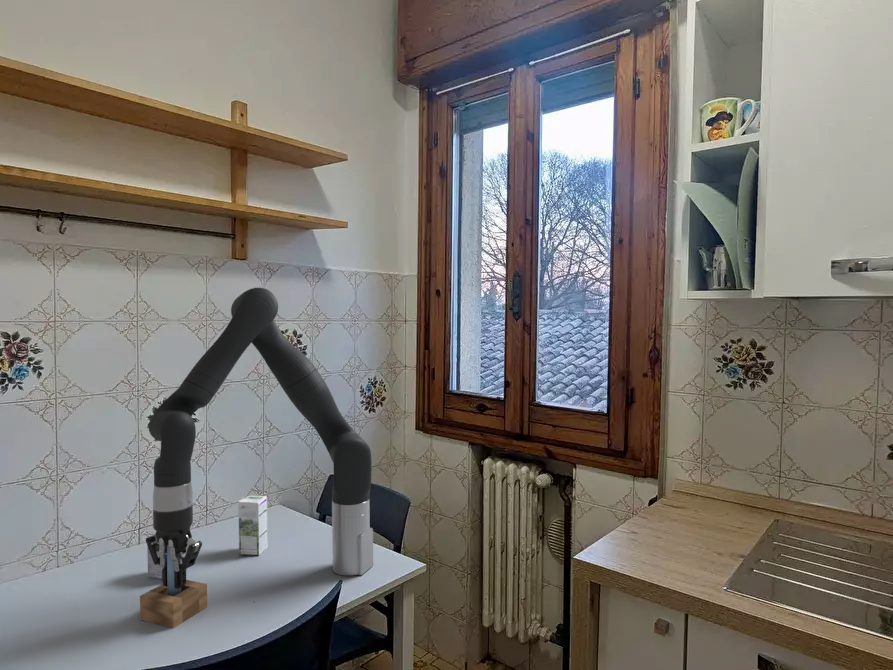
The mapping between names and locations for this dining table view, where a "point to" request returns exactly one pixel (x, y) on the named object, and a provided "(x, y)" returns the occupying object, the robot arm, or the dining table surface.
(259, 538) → the syrup box
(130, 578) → the dining table surface
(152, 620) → the hollow square block
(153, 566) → the medicine box
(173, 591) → the blue rounded rod
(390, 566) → the dining table surface
